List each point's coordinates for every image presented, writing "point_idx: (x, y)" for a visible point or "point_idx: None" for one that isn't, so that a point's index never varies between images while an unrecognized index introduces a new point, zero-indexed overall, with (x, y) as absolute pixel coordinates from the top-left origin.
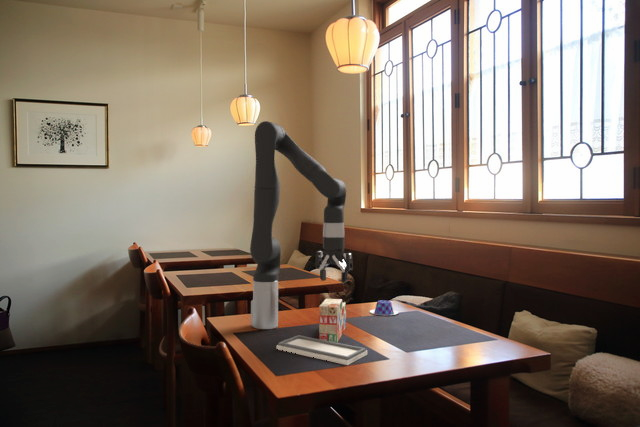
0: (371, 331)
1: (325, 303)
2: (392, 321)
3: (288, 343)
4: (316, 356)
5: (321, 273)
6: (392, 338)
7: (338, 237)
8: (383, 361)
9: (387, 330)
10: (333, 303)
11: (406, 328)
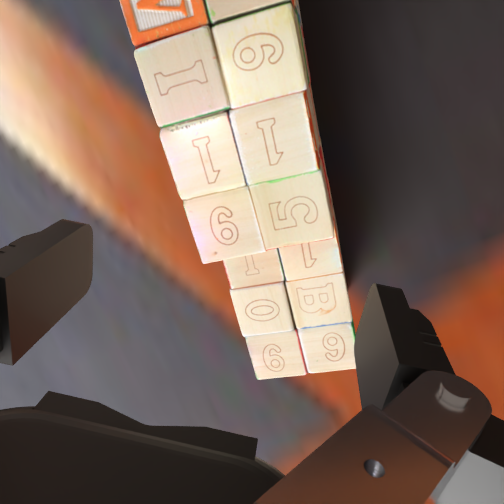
0: (136, 271)
1: (261, 44)
2: None
3: None
4: None
5: (411, 335)
6: (14, 201)
7: None
8: None
9: (87, 309)
10: (190, 64)
11: (40, 360)
